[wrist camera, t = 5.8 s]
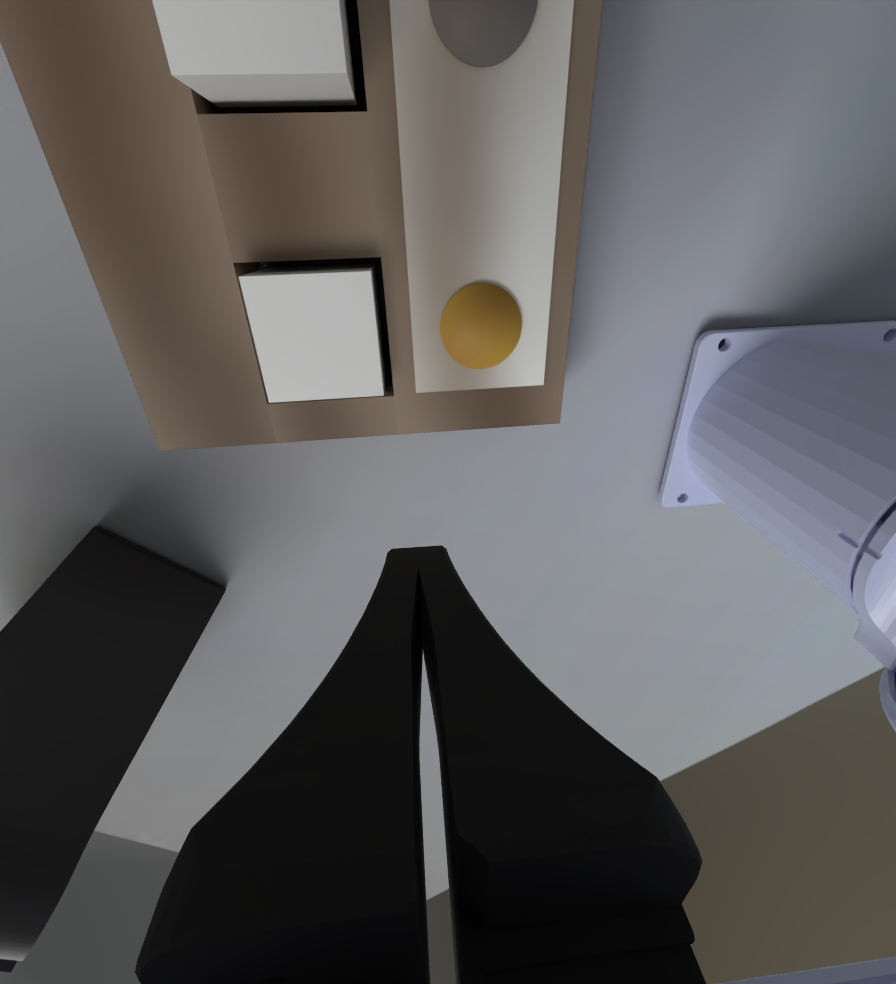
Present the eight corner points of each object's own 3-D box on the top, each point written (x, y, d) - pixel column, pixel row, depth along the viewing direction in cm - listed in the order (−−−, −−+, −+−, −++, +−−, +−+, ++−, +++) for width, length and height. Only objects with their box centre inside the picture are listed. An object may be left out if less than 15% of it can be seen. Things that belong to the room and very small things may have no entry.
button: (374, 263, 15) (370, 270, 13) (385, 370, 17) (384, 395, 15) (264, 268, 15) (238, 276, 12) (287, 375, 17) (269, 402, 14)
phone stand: (98, 522, 19) (-236, 856, 9) (228, 585, 22) (82, 906, 12) (20, 641, 22) (-300, 999, 12) (144, 686, 25) (-35, 1015, 14)
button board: (639, -884, 7) (750, -1384, 5) (540, 400, 19) (561, 425, 16) (-310, -1029, 6) (-707, -1738, 4) (188, 423, 18) (157, 453, 15)
